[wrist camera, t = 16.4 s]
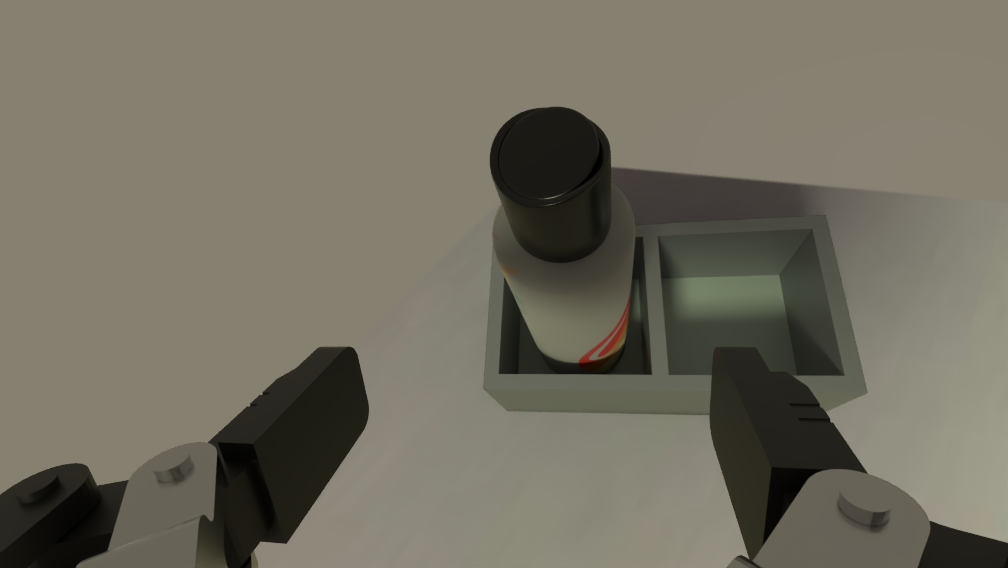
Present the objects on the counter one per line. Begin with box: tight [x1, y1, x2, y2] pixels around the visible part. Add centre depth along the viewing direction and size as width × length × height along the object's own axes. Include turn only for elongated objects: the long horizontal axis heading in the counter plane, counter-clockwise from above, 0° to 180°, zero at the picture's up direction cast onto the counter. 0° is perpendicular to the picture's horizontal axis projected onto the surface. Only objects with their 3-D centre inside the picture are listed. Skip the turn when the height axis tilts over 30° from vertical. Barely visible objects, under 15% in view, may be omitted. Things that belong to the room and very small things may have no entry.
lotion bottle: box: [490, 107, 635, 375], centre depth 24 cm, size 6×6×20 cm
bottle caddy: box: [483, 215, 868, 415], centre depth 30 cm, size 18×10×7 cm, turn 87°
